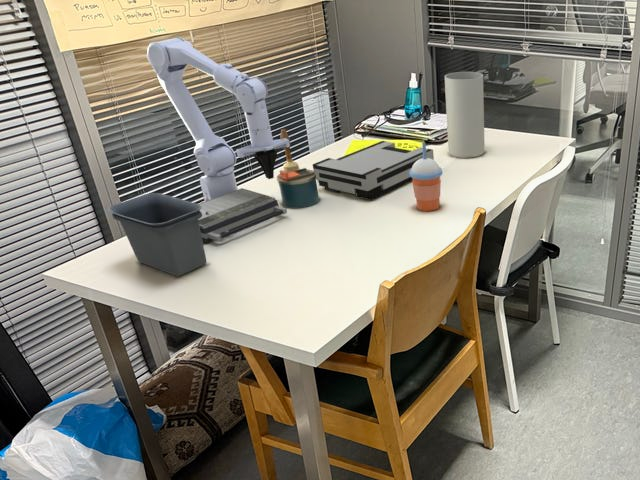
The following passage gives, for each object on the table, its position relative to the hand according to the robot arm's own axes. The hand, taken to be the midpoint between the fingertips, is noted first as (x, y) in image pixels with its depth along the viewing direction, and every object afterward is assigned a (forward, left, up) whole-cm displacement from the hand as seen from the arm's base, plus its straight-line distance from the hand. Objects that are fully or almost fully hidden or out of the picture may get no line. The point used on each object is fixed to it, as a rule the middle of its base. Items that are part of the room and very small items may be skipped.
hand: (269, 177), depth 182 cm
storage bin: (-34, -15, -9) cm, 38 cm away
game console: (+34, -1, -9) cm, 35 cm away
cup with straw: (+32, -30, -9) cm, 45 cm away
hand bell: (+15, +18, -9) cm, 25 cm away
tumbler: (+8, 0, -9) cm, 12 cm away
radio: (-14, -1, -9) cm, 17 cm away
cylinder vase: (+72, +1, -9) cm, 72 cm away
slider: (+6, 0, -1) cm, 6 cm away
